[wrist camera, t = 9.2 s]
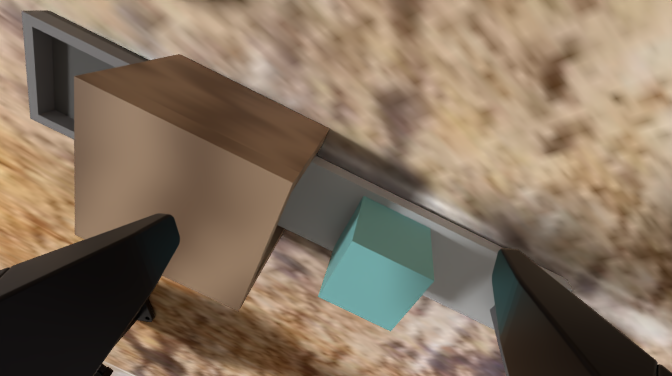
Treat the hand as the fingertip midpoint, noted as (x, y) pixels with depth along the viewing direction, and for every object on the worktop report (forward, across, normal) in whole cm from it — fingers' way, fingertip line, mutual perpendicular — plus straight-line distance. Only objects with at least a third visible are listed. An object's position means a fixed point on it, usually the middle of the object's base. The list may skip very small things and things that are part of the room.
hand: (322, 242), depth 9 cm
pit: (+12, +18, -1) cm, 22 cm away
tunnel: (+12, +9, +3) cm, 15 cm away
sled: (+12, -3, +8) cm, 15 cm away
